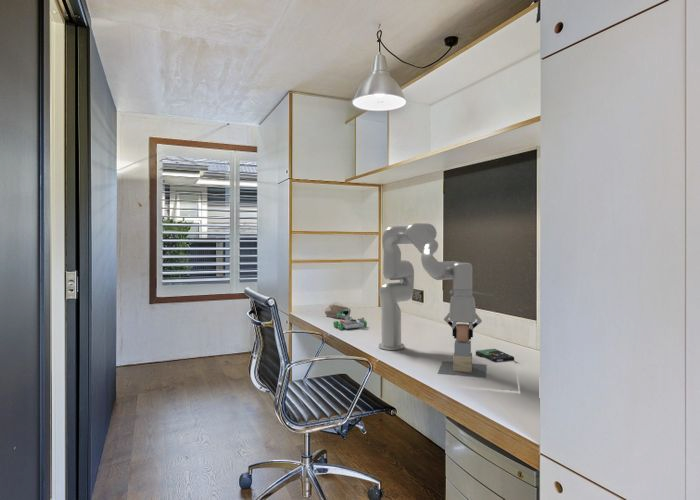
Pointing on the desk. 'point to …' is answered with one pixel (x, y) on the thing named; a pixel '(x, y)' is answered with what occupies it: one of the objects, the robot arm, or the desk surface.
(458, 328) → the brown egg shape
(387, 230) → the robot arm
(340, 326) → the robot kit
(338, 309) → the decorative stone
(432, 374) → the desk surface
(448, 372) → the charcoal mat
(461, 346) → the slate grey block
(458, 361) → the pale oak block
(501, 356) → the disk drive
